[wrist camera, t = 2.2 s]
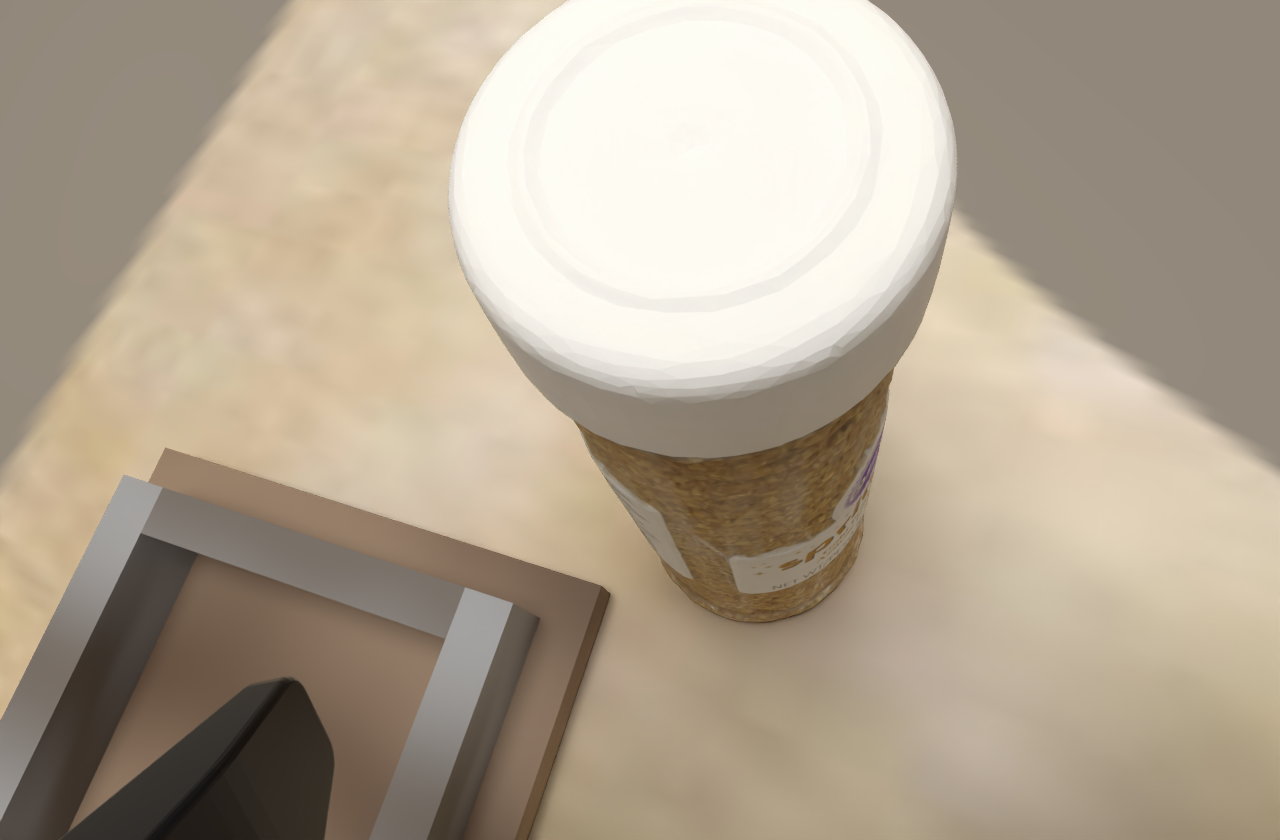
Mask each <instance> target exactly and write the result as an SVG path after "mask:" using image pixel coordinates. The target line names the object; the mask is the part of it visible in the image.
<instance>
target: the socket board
mask: <svg viewBox="0 0 1280 840" xmlns="http://www.w3.org/2000/svg"><path fill="white" fill-rule="evenodd" d="M609 596H610V593H609V592H608V591H606V590H605V589H604V588H603V587H602V586H600V585H597V584H594V583H591V582H587V581H584V580H581V579H578V578H575V577H572V576H568V575H565V574H562V573H559V572H556V571H553V570H550V569H546V568H543V567H540V566H537V565H534V564H531V563H527V562H524V561H521V560H518V559H515V558H512V557H509V556H505V555H502V554H499V553H496V552H493V551H490V550H486V549H483V548H480V547H477V546H474V545H471V544H468V543H464V542H461V541H458V540H455V539H452V538H449V537H445V536H442V535H439V534H436V533H433V532H430V531H427V530H423V529H420V528H417V527H414V526H411V525H408V524H405V523H401V522H398V521H395V520H392V519H389V518H386V517H382V516H379V515H376V514H373V513H370V512H367V511H364V510H360V509H357V508H354V507H351V506H348V505H345V504H341V503H338V502H335V501H332V500H329V499H326V498H323V497H319V496H316V495H313V494H310V493H307V492H304V491H300V490H297V489H294V488H291V487H288V486H285V485H282V484H278V483H275V482H272V481H269V480H266V479H263V478H259V477H256V476H253V475H250V474H247V473H244V472H241V471H237V470H234V469H231V468H228V467H225V466H222V465H219V464H215V463H212V462H209V461H206V460H203V459H200V458H196V457H193V456H190V455H187V454H184V453H181V452H178V451H174V450H171V449H168V448H165V450H164V452H163V454H162V456H161V458H160V460H159V462H158V464H157V466H156V468H155V470H154V472H153V474H152V476H151V478H150V480H149V482H145V481H142V480H139V479H136V478H133V477H130V476H126V475H123V477H122V479H121V481H120V483H119V485H118V487H117V489H116V491H115V493H114V495H113V497H112V499H111V501H110V503H109V505H108V507H107V509H106V511H105V513H104V515H103V517H102V519H101V521H100V523H99V525H98V527H97V529H96V531H95V533H94V535H93V537H92V539H91V541H90V543H89V545H88V547H87V549H86V551H85V553H84V555H83V557H82V559H81V561H80V563H79V565H78V567H77V569H76V571H75V573H74V575H73V577H72V579H71V581H70V583H69V585H68V587H67V589H66V591H65V593H64V595H63V597H62V599H61V601H60V603H59V605H58V607H57V609H56V611H55V613H54V615H53V617H52V619H51V621H50V623H49V625H48V627H47V629H46V631H45V633H44V635H43V637H42V639H41V641H40V643H39V645H38V647H37V649H36V651H35V653H34V655H33V657H32V659H31V661H30V663H29V665H28V667H27V669H26V671H25V673H24V675H23V677H22V679H21V681H20V683H19V685H18V687H17V689H16V691H15V693H14V695H13V697H12V699H11V701H10V703H9V705H8V707H7V709H6V711H5V713H4V715H3V717H2V719H1V721H0V840H59V839H60V838H61V837H63V836H64V835H65V834H66V833H67V832H69V831H70V830H71V829H72V828H74V827H75V826H76V825H77V824H78V823H80V822H81V821H82V820H83V819H85V818H86V817H87V816H88V815H89V814H91V813H92V812H93V811H94V810H96V809H97V808H98V807H99V806H100V805H102V804H103V803H104V802H105V801H107V800H108V799H109V798H110V797H111V796H113V795H114V794H115V793H116V792H118V791H119V790H120V789H121V788H122V787H124V786H125V785H126V784H127V783H129V782H130V781H131V780H132V779H133V778H135V777H136V776H137V775H138V774H140V773H141V772H142V771H143V770H144V769H146V768H147V767H148V766H149V765H151V764H152V763H153V762H154V761H155V760H157V759H158V758H159V757H160V756H161V755H163V754H164V753H165V752H166V751H168V750H169V749H170V748H171V747H172V746H174V745H175V744H176V743H177V742H179V741H180V740H181V739H182V738H183V737H185V736H186V735H187V734H188V733H190V732H191V731H192V730H193V729H194V728H196V727H197V726H198V725H199V724H201V723H202V722H203V721H204V720H205V719H207V718H208V717H209V716H210V715H212V714H213V713H214V712H215V711H216V710H218V709H219V708H220V707H221V706H223V705H224V704H225V703H226V702H227V701H229V700H230V699H231V698H232V697H234V696H235V695H236V694H237V693H238V692H240V691H241V690H242V689H243V688H245V687H246V686H248V685H250V684H252V683H255V682H260V681H265V680H270V679H274V678H279V677H284V676H291V677H294V678H296V679H298V680H299V681H300V682H301V683H302V685H303V686H304V688H305V689H306V691H307V693H308V695H309V697H310V699H311V702H312V704H313V706H314V708H315V710H316V712H317V714H318V716H319V718H320V720H321V722H322V724H323V726H324V728H325V730H326V732H327V734H328V736H329V738H330V741H331V743H332V747H333V751H334V758H335V768H334V777H333V784H332V791H331V798H330V805H329V813H328V820H327V827H326V834H325V840H527V839H528V836H529V833H530V830H531V827H532V824H533V821H534V818H535V815H536V812H537V809H538V806H539V803H540V800H541V797H542V795H543V792H544V789H545V786H546V783H547V780H548V777H549V774H550V771H551V768H552V765H553V762H554V759H555V756H556V753H557V750H558V747H559V744H560V741H561V738H562V735H563V732H564V729H565V726H566V723H567V721H568V718H569V715H570V712H571V709H572V706H573V703H574V700H575V697H576V694H577V691H578V688H579V685H580V682H581V679H582V676H583V673H584V670H585V667H586V664H587V661H588V658H589V655H590V652H591V649H592V647H593V644H594V641H595V638H596V635H597V632H598V629H599V626H600V623H601V620H602V617H603V614H604V611H605V608H606V605H607V602H608V599H609Z"/></svg>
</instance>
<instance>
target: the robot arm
mask: <svg viewBox="0 0 1280 840" xmlns="http://www.w3.org/2000/svg"><path fill="white" fill-rule="evenodd" d="M334 768H335V758H334V751H333V747H332V743H331V741H330V738H329V736H328V734H327V732H326V730H325V728H324V726H323V724H322V722H321V720H320V718H319V716H318V714H317V712H316V710H315V708H314V706H313V704H312V702H311V699H310V697H309V695H308V693H307V691H306V689H305V688H304V686H303V685H302V683H301V682H300V681H299V680H298V679H296V678H294V677H291V676H284V677H279V678H274V679H270V680H265V681H260V682H255V683H252V684H250V685H248V686H246V687H245V688H243V689H242V690H241V691H240V692H238V693H237V694H236V695H235V696H234V697H232V698H231V699H230V700H229V701H227V702H226V703H225V704H224V705H223V706H221V707H220V708H219V709H218V710H216V711H215V712H214V713H213V714H212V715H210V716H209V717H208V718H207V719H205V720H204V721H203V722H202V723H201V724H199V725H198V726H197V727H196V728H194V729H193V730H192V731H191V732H190V733H188V734H187V735H186V736H185V737H183V738H182V739H181V740H180V741H179V742H177V743H176V744H175V745H174V746H172V747H171V748H170V749H169V750H168V751H166V752H165V753H164V754H163V755H161V756H160V757H159V758H158V759H157V760H155V761H154V762H153V763H152V764H151V765H149V766H148V767H147V768H146V769H144V770H143V771H142V772H141V773H140V774H138V775H137V776H136V777H135V778H133V779H132V780H131V781H130V782H129V783H127V784H126V785H125V786H124V787H122V788H121V789H120V790H119V791H118V792H116V793H115V794H114V795H113V796H111V797H110V798H109V799H108V800H107V801H105V802H104V803H103V804H102V805H100V806H99V807H98V808H97V809H96V810H94V811H93V812H92V813H91V814H89V815H88V816H87V817H86V818H85V819H83V820H82V821H81V822H80V823H78V824H77V825H76V826H75V827H74V828H72V829H71V830H70V831H69V832H67V833H66V834H65V835H64V836H63V837H61V838H60V839H59V840H325V834H326V827H327V820H328V813H329V805H330V798H331V791H332V784H333V777H334Z"/></svg>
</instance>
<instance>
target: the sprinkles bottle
mask: <svg viewBox="0 0 1280 840" xmlns="http://www.w3.org/2000/svg"><path fill="white" fill-rule="evenodd" d="M956 149H957V148H956V140H955V133H954V126H953V122H952V119H951V115H950V111H949V108H948V105H947V102H946V99H945V96H944V94H943V91H942V88H941V86H940V84H939V82H938V80H937V78H936V76H935V74H934V72H933V70H932V68H931V67H930V65H929V63H928V62H927V60H926V59H925V57H924V55H923V54H922V53H921V51H920V50H919V49H918V47H917V46H916V45H915V43H914V42H913V41H912V40H911V38H910V37H909V36H908V35H907V34H906V33H905V32H904V31H903V30H902V29H901V28H900V27H899V25H897V23H896V22H895V21H893V20H892V19H891V18H890V17H889V16H888V15H887V14H886V13H884V12H883V11H882V10H880V9H879V8H878V7H876V6H875V5H873V4H872V3H871V2H869V1H868V0H568V1H567V2H565V3H564V4H562V5H561V6H560V7H558V8H557V9H555V10H554V11H552V12H551V13H550V14H548V15H547V16H546V17H545V18H543V19H542V20H541V21H540V22H538V23H537V24H536V25H535V26H534V27H532V28H531V29H530V30H529V31H527V32H526V33H525V34H524V35H523V36H521V37H520V38H519V39H518V40H517V41H516V42H515V44H514V45H513V46H512V47H511V48H510V49H509V50H508V51H507V52H506V53H505V54H504V55H503V56H502V57H501V59H500V60H499V61H498V63H497V64H496V66H495V67H494V68H493V70H492V71H491V72H490V74H489V75H488V77H487V78H486V79H485V81H484V82H483V84H482V85H481V87H480V89H479V90H478V92H477V94H476V95H475V97H474V99H473V101H472V102H471V104H470V107H469V109H468V111H467V113H466V115H465V117H464V120H463V123H462V126H461V129H460V132H459V135H458V138H457V141H456V145H455V148H454V153H453V158H452V163H451V168H450V180H449V192H448V209H449V216H450V224H451V230H452V236H453V241H454V246H455V249H456V253H457V256H458V259H459V261H460V264H461V267H462V270H463V273H464V275H465V278H466V280H467V282H468V284H469V286H470V288H471V290H472V292H473V293H474V295H475V297H476V299H477V301H478V302H479V304H480V306H481V308H482V309H483V311H484V313H485V315H486V316H487V318H488V320H489V321H490V323H491V324H492V326H493V328H494V329H495V331H496V332H497V334H498V336H499V337H500V339H501V341H502V342H503V344H504V345H505V347H506V348H507V349H508V351H509V352H510V354H511V355H512V357H513V358H514V360H515V361H516V363H517V364H518V366H519V367H520V369H521V370H522V371H523V373H524V374H525V376H526V377H527V378H528V379H529V380H530V381H531V382H532V384H533V385H534V386H535V387H536V388H537V389H538V390H539V391H540V392H541V393H542V394H543V395H544V396H545V397H546V398H547V400H549V401H550V402H551V403H552V404H553V405H554V406H555V407H556V408H557V409H559V410H560V411H561V412H563V413H564V414H566V415H567V416H568V417H570V418H571V419H573V420H574V422H575V423H576V425H577V426H578V428H579V429H580V432H581V435H582V437H583V440H584V442H585V444H586V446H587V448H588V450H589V452H590V455H591V457H592V458H593V460H594V461H595V463H596V465H597V466H598V468H599V469H600V471H601V472H602V474H603V475H604V477H605V479H606V480H607V482H608V483H609V485H610V486H611V488H612V489H613V491H614V492H615V493H616V495H617V496H618V498H619V499H620V501H621V502H622V503H623V505H624V506H625V508H626V509H627V511H628V512H629V514H630V515H631V517H632V518H633V520H634V521H635V523H636V524H637V526H638V527H639V528H640V530H641V531H642V533H643V534H644V536H645V537H646V539H647V540H648V542H649V543H650V545H651V546H652V547H653V548H654V550H655V551H656V552H657V553H658V555H659V556H660V558H661V561H662V564H663V566H664V568H665V570H666V571H667V573H668V574H669V576H670V578H671V579H672V580H673V581H674V582H675V583H676V584H677V585H678V586H679V587H680V588H681V589H682V590H683V591H684V592H685V593H686V594H687V595H688V596H689V597H690V598H691V599H692V600H693V601H694V602H695V603H697V604H699V605H701V606H703V607H705V608H707V609H708V610H710V611H712V612H714V613H716V614H719V615H721V616H723V617H726V618H728V619H732V620H737V621H747V622H767V621H773V620H777V619H779V618H787V617H790V616H792V615H795V614H799V613H802V612H804V611H806V610H808V609H810V608H812V607H813V606H815V605H816V604H818V603H819V602H820V601H821V600H823V599H824V598H825V597H826V596H827V595H829V594H830V593H831V592H832V591H833V590H834V589H835V588H836V587H837V586H838V584H839V583H840V582H841V580H842V579H843V578H844V576H845V575H846V573H847V572H848V570H849V569H850V568H851V566H852V565H853V564H854V561H855V559H856V557H857V553H858V548H859V545H860V542H861V539H862V536H863V513H864V510H865V508H866V504H867V500H868V496H869V491H870V486H871V482H872V478H873V473H874V468H875V464H876V459H877V455H878V451H879V446H880V442H881V438H882V433H883V429H884V425H885V420H886V414H887V408H888V400H889V385H890V382H891V380H892V375H893V370H894V367H895V366H896V364H897V363H898V361H899V360H900V358H901V357H902V355H903V354H904V352H905V351H906V349H907V348H908V346H909V345H910V343H911V341H912V340H913V338H914V336H915V334H916V332H917V330H918V328H919V326H920V324H921V322H922V319H923V316H924V314H925V311H926V308H927V305H928V303H929V300H930V297H931V294H932V291H933V288H934V284H935V281H936V278H937V275H938V271H939V268H940V264H941V260H942V255H943V251H944V247H945V243H946V239H947V234H948V230H949V225H950V220H951V215H952V210H953V205H954V199H955V193H956V181H957V150H956Z"/></svg>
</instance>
